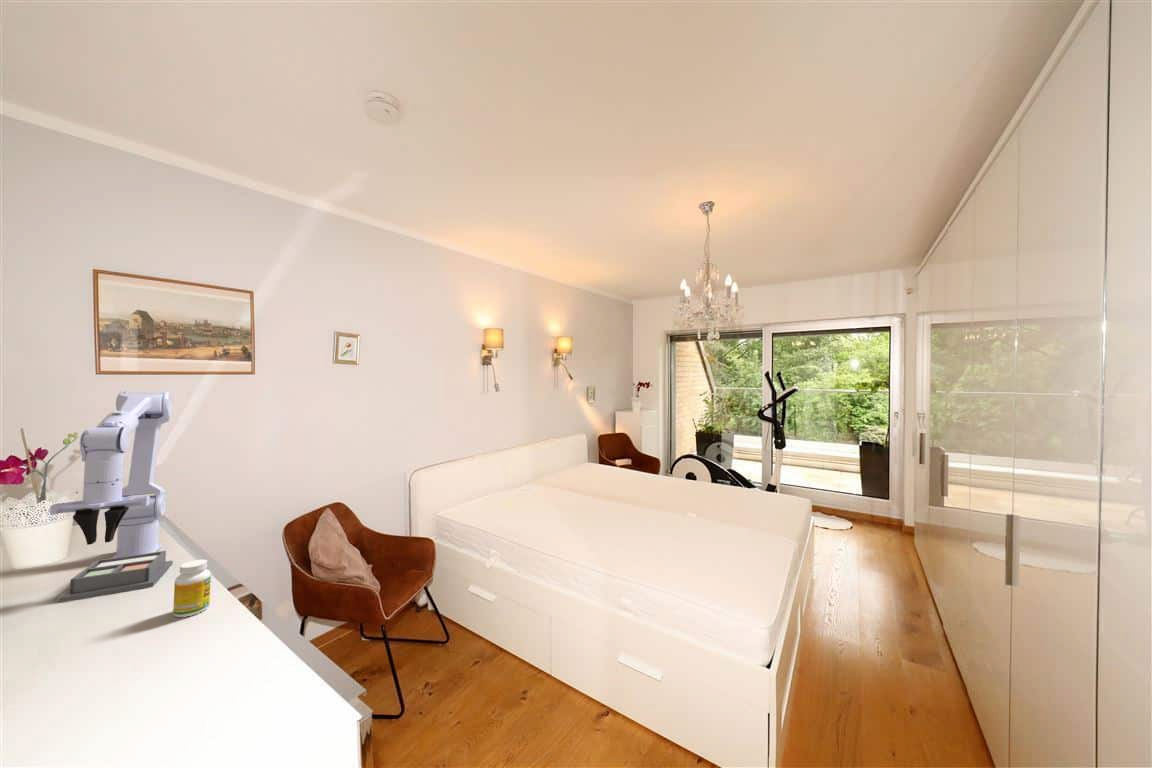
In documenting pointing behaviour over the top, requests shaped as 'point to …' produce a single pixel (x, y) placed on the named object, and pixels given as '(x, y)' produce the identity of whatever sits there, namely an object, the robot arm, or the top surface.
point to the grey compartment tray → (117, 577)
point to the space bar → (127, 561)
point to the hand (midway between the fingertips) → (100, 542)
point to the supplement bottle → (192, 589)
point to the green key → (99, 572)
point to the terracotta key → (135, 567)
